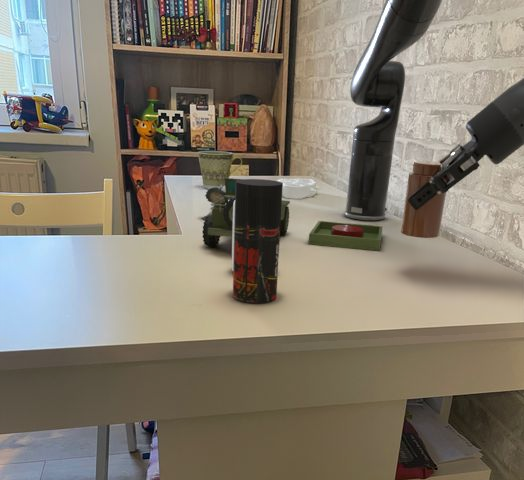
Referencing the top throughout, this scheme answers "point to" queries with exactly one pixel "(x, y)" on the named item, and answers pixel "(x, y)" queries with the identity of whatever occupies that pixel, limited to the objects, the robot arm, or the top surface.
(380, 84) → the robot arm
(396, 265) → the top surface
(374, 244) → the tray
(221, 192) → the eagle figurine
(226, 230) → the toy jeep
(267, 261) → the deodorant
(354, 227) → the jar lid
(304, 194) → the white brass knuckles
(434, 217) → the jar
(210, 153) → the ceramic cup
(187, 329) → the top surface
